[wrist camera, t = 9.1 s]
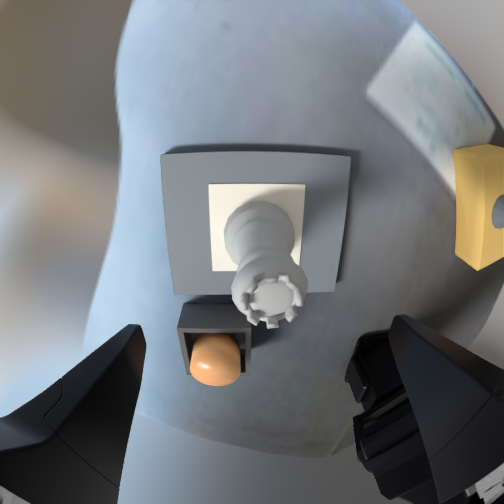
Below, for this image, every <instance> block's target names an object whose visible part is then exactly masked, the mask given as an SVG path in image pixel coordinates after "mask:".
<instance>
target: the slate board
mask: <svg viewBox="0 0 504 504" xmlns="http://www.w3.org/2000/svg"><path fill="white" fill-rule="evenodd" d="M160 161H161V179H162V193H163V206H164V217H165V227H166V236H167V245H168V253H169V261H170V268H171V275H172V282H173V289H174V294H187V295H229V294H232V291H231V286H232V283H233V281H234V278H235V275H236V274H237V268H238V265H237V264H235V263H234V262H233V261H232V259H231V258H230V256H229V254H228V253H227V251H226V249H225V240H224V228H225V225H226V222H227V219H228V217H229V216H230V215H231V214H232V213H233V212H234V211H235V209H236V208H237V207H240V206H242V205H244V204H246V203H248V202H250V201H267V202H270V203H273V204H276V205H278V206H279V207H280V208H282V209H283V210H284V211H285V212H286V213H287V214H288V216H289V218H290V220H291V222H292V225H293V228H294V231H295V245H294V248H293V250H292V252H291V256H292V258H293V260H294V262H295V263H296V264H297V265H298V266H300V267H301V268H302V269H303V271H304V273H305V275H306V278H307V280H308V291H307V293H309V292H331V291H334V289H335V283H336V278H337V272H338V266H339V259H340V253H341V246H342V239H343V232H344V224H345V216H346V208H347V198H348V188H349V177H350V165H351V157H349V156H344V155H333V154H321V153H306V152H285V151H206V152H185V153H170V154H162V155H160Z"/></svg>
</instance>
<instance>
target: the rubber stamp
mask: <svg viewBox="0 0 504 504" xmlns="http://www.w3.org/2000/svg"><path fill="white" fill-rule="evenodd" d="M454 165H455V179H456V204H457V221H456V247H455V254H456V255H457V256H458V257H460V258H461V259H462V260H464V261H465V262H466V263H468V264H469V265H470V266H471V267H473V268H474V269H475V270H477V271H478V270H480V269H482V268H484V267H486V266H488V265H490V264H492V263H493V262H495V261H497V260H499V259H501V258H502V257H504V148H502V147H498V146H494V145H490V144H483V145H476V146H470V147H464V148H458V149H454Z"/></svg>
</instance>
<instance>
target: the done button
mask: <svg viewBox="0 0 504 504" xmlns="http://www.w3.org/2000/svg"><path fill="white" fill-rule="evenodd" d="M190 372H191V374H192V375H193V377H194V378H195V379H197V380H198V381H200V382H202V383H204V384H207V385H212V386H223V385H227V384H230V383H232V382H234V381H236V380H237V379H238V377H239V376H240V373H241V365H240V345H239V342H238V341H237V339H236V338H235V337H233V336H232V335H230V334H228V333H202V334H200V335H199V336H198V337H197V338H196V339H195V341H194V344H193V350H192V356H191V363H190Z"/></svg>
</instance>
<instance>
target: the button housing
mask: <svg viewBox="0 0 504 504" xmlns="http://www.w3.org/2000/svg"><path fill="white" fill-rule="evenodd" d="M177 330H178V335H179V340H180V345H181V350H182V354H183V359H184V363H185V368H186V372H187V375H192V374H191V372H190V363H191V356H192V350H193V344H194V341H195V339H196V338H197V337H198V336H199V335H200V334H202V333H228V334H230V335H232V336H233V337H235V338H236V339H237V341H238V342H239V345H240V365H241V373H240V376H250V375H251V322H249V321H248V320H247V315H245V314H244V313H242V312H241V311H239V309H238V308H237V306H236V305H235V304H183V307H182V311H181V315H180V319H179V322H178V326H177Z"/></svg>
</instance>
